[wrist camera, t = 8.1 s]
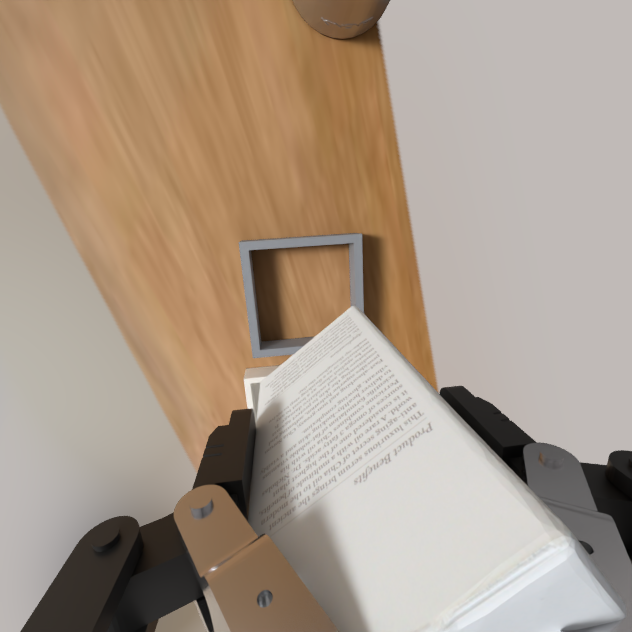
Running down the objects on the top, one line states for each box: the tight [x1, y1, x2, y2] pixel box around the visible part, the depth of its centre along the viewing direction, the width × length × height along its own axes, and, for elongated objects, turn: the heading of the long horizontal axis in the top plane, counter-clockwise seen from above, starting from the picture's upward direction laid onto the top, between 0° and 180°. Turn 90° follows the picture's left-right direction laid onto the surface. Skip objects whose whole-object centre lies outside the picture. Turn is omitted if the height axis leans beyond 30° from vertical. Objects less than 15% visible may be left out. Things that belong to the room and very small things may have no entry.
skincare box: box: [248, 306, 626, 632], centre depth 11 cm, size 6×4×12 cm
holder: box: [239, 233, 364, 358], centre depth 34 cm, size 12×12×2 cm
